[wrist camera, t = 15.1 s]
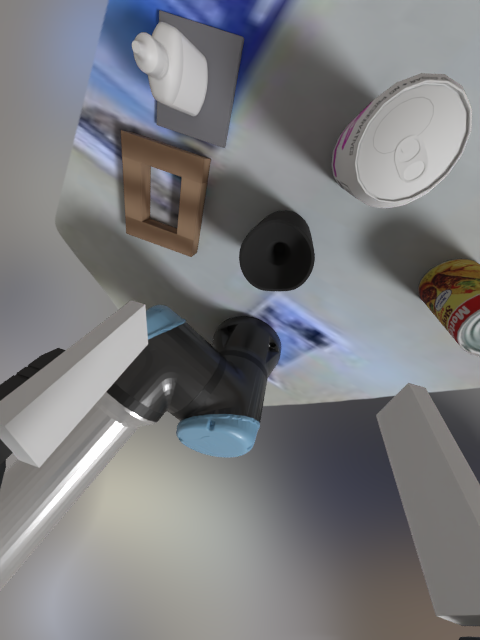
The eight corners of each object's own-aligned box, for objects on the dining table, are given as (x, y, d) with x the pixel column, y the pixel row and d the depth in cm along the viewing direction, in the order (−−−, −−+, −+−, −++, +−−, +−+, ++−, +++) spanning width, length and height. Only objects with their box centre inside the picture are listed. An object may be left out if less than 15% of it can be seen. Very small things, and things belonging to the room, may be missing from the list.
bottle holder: (197, 252, 41) (191, 257, 39) (135, 229, 42) (126, 233, 40) (210, 159, 32) (204, 158, 30) (132, 132, 33) (120, 130, 31)
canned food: (408, 280, 35) (445, 324, 26) (470, 247, 31) (543, 284, 21) (431, 314, 37) (474, 366, 28) (493, 287, 33) (569, 338, 23)
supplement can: (320, 145, 29) (329, 133, 17) (393, 90, 25) (473, 22, 13) (344, 204, 32) (367, 230, 20) (413, 164, 28) (494, 165, 16)
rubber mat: (225, 147, 31) (223, 147, 31) (158, 125, 32) (156, 124, 31) (244, 39, 25) (242, 37, 25) (162, 13, 26) (159, 10, 25)
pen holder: (278, 193, 33) (269, 202, 25) (326, 233, 34) (332, 255, 26) (243, 244, 38) (226, 265, 30) (285, 277, 40) (280, 306, 32)
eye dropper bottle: (221, 82, 27) (175, 39, 18) (192, 123, 30) (138, 105, 21) (196, 43, 26) (131, -28, 16) (168, 90, 29) (99, 53, 19)
